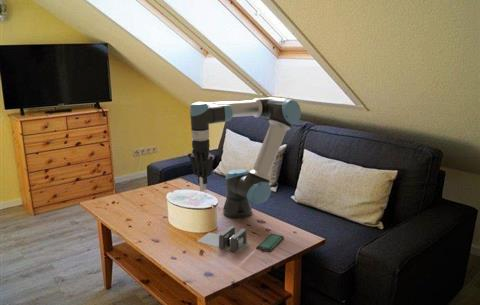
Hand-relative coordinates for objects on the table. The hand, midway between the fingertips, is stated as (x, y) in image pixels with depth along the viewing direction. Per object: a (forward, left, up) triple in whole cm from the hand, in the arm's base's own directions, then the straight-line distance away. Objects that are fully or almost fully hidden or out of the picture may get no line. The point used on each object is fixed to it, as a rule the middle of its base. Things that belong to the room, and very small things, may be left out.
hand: (203, 190), depth 176 cm
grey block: (+2, +15, -22) cm, 27 cm away
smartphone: (-9, +29, -24) cm, 39 cm away
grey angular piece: (+1, +11, -23) cm, 26 cm away
